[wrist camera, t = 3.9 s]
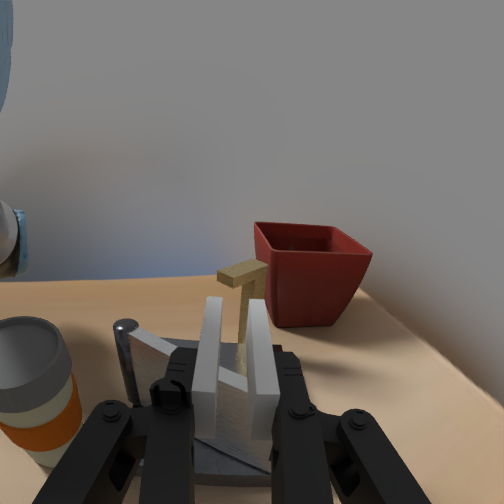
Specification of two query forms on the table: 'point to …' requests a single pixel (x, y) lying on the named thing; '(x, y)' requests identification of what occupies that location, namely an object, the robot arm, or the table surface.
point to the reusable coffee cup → (37, 389)
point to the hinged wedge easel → (228, 396)
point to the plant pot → (308, 272)
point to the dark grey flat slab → (209, 458)
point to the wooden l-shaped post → (245, 286)
